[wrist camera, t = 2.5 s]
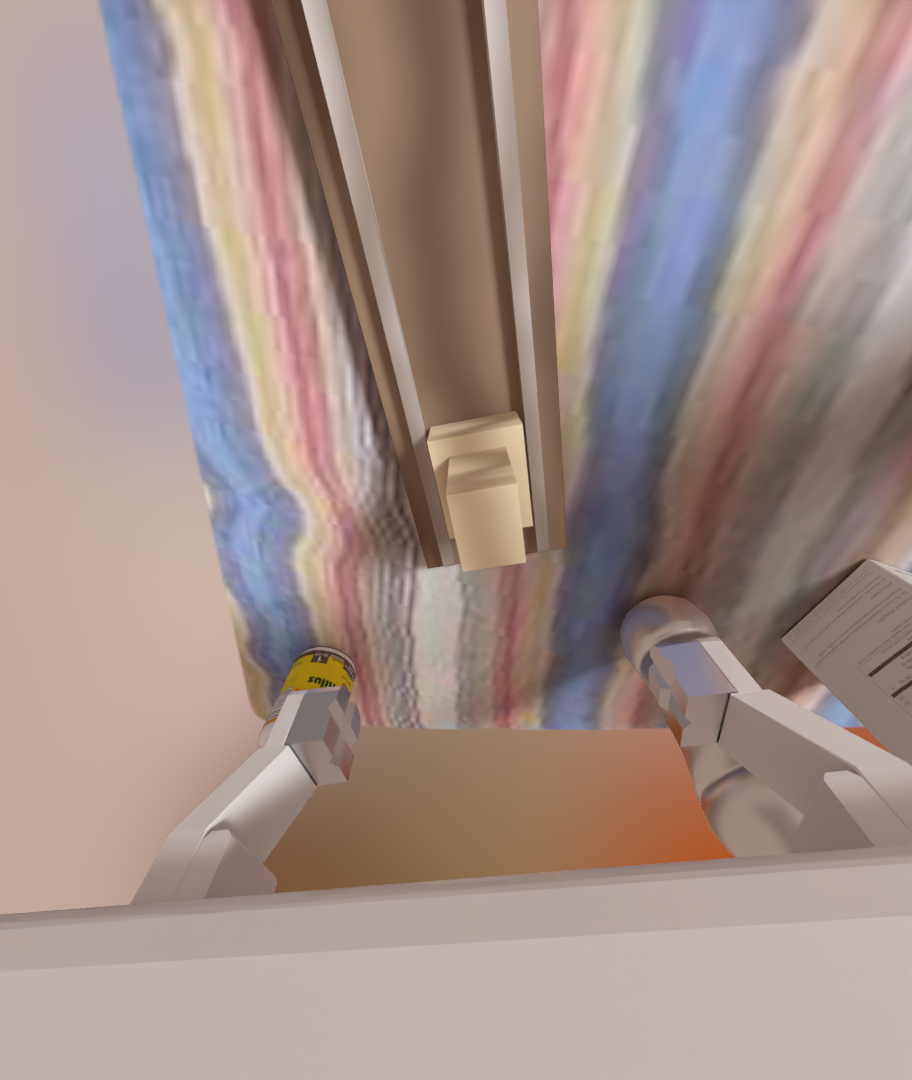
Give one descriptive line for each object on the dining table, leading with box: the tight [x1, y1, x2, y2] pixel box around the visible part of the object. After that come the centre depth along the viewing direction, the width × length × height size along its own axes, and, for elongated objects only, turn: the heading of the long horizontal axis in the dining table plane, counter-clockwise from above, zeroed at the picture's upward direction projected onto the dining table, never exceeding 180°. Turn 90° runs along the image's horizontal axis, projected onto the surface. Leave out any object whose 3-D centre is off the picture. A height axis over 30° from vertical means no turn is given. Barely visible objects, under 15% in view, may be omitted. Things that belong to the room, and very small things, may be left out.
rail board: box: [271, 0, 567, 568], centre depth 17 cm, size 10×35×6 cm, turn 11°
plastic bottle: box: [620, 595, 803, 858], centre depth 24 cm, size 6×7×20 cm
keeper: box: [427, 411, 533, 572], centre depth 21 cm, size 5×6×8 cm
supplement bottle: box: [258, 647, 356, 748], centre depth 31 cm, size 6×6×10 cm
